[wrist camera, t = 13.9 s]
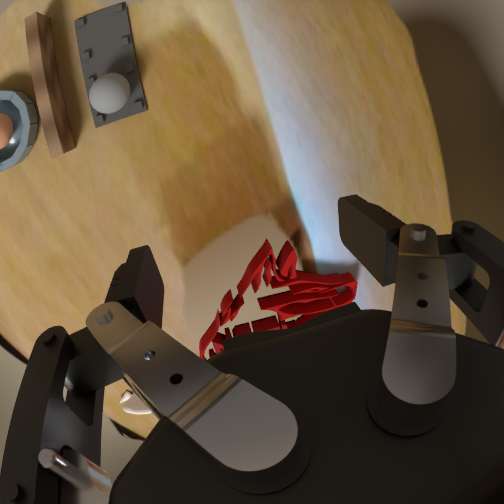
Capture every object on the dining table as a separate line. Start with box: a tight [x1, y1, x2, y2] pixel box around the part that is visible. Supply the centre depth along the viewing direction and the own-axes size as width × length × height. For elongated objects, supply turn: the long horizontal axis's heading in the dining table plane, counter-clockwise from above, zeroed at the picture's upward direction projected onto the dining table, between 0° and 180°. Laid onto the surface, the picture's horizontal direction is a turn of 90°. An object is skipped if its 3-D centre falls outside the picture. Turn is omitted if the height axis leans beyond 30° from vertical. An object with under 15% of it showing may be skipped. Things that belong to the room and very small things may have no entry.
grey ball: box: [89, 73, 130, 114], centre depth 28 cm, size 5×5×5 cm
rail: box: [25, 12, 76, 159], centre depth 26 cm, size 20×2×4 cm, turn 10°
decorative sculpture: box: [199, 239, 357, 361], centre depth 51 cm, size 31×3×30 cm
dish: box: [0, 90, 38, 172], centre depth 27 cm, size 11×11×3 cm
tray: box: [75, 2, 147, 128], centre depth 28 cm, size 16×7×1 cm, turn 10°
